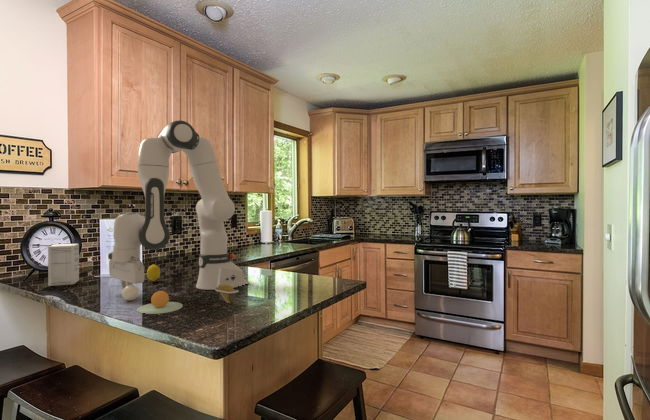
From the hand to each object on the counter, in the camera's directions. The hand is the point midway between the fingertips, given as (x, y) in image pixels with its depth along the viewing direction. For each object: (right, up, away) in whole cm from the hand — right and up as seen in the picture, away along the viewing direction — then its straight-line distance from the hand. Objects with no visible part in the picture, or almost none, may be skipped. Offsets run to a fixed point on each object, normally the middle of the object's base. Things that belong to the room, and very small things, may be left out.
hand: (126, 292), depth 133 cm
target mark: (+19, -2, -14) cm, 24 cm away
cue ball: (+5, +1, -5) cm, 7 cm away
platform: (+39, -3, -6) cm, 39 cm away
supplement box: (-39, -1, +21) cm, 44 cm away
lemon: (-3, -2, +26) cm, 27 cm away
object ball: (+19, +1, -14) cm, 23 cm away
